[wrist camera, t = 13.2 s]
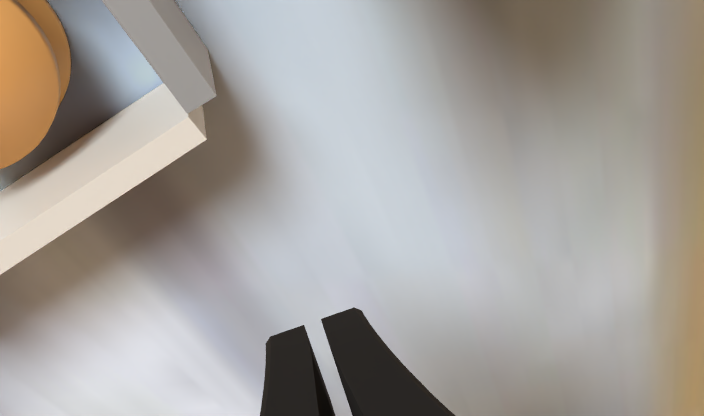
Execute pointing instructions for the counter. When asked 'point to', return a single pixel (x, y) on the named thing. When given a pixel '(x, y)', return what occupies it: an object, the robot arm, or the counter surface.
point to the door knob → (30, 75)
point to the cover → (95, 172)
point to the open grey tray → (168, 47)
